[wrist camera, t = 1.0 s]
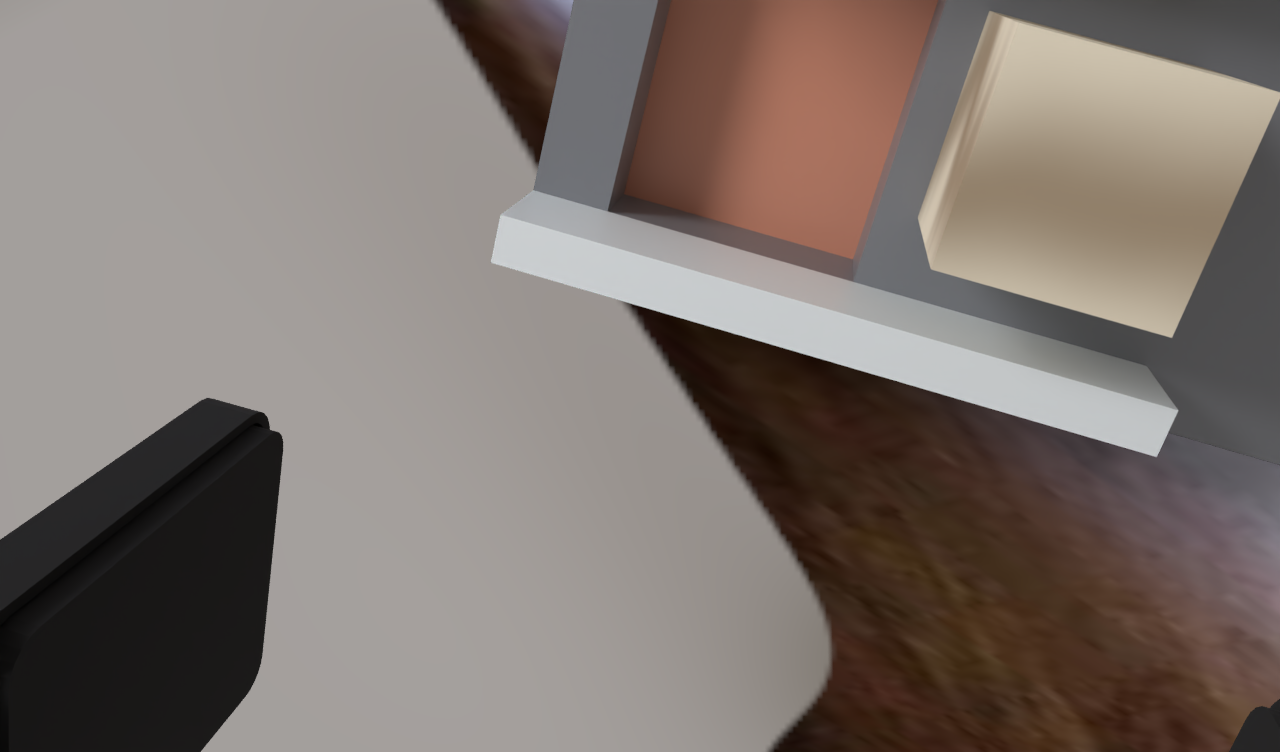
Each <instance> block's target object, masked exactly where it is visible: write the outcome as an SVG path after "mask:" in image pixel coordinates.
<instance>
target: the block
mask: <svg viewBox="0 0 1280 752" xmlns="http://www.w3.org/2000/svg"><path fill="white" fill-rule="evenodd" d="M1279 100H1280V92H1277V91H1274V90H1271V89H1268V88H1265V87H1262V86H1259V85H1256V84H1252V83H1249V82H1246V81H1243V80H1240V79H1237V78H1234V77H1231V76H1228V75H1225V74H1222V73H1218V72H1215V71H1212V70H1209V69H1206V68H1202V67H1199V66H1195V65H1191V64H1187V63H1184V62H1180V61H1176V60H1172V59H1169V58H1165V57H1161V56H1157V55H1154V54H1150V53H1146V52H1142V51H1139V50H1135V49H1131V48H1127V47H1124V46H1120V45H1116V44H1112V43H1109V42H1105V41H1101V40H1097V39H1094V38H1090V37H1086V36H1082V35H1079V34H1075V33H1071V32H1067V31H1064V30H1060V29H1056V28H1052V27H1049V26H1045V25H1041V24H1037V23H1034V22H1030V21H1026V20H1022V19H1019V18H1015V17H1011V16H1007V15H1004V14H1000V13H996V12H992V11H989V13H988V16H987V19H986V22H985V25H984V28H983V30H982V33H981V36H980V39H979V42H978V45H977V48H976V51H975V54H974V56H973V59H972V62H971V65H970V68H969V71H968V74H967V77H966V80H965V82H964V85H963V88H962V91H961V94H960V97H959V100H958V103H957V106H956V108H955V111H954V114H953V117H952V120H951V123H950V126H949V129H948V132H947V134H946V137H945V140H944V143H943V146H942V149H941V152H940V155H939V158H938V160H937V163H936V166H935V169H934V172H933V175H932V178H931V181H930V184H929V186H928V189H927V192H926V195H925V198H924V201H923V204H922V207H921V210H920V212H919V215H918V221H919V225H920V229H921V233H922V237H923V241H924V245H925V249H926V253H927V257H928V261H929V264H930V268H931V270H935V271H938V272H942V273H945V274H949V275H952V276H956V277H959V278H963V279H966V280H970V281H973V282H977V283H980V284H984V285H988V286H991V287H995V288H998V289H1002V290H1005V291H1009V292H1012V293H1016V294H1019V295H1023V296H1026V297H1030V298H1033V299H1037V300H1040V301H1044V302H1047V303H1051V304H1054V305H1058V306H1061V307H1065V308H1068V309H1072V310H1075V311H1079V312H1082V313H1086V314H1090V315H1093V316H1097V317H1100V318H1104V319H1107V320H1111V321H1114V322H1118V323H1121V324H1125V325H1128V326H1132V327H1135V328H1139V329H1142V330H1146V331H1149V332H1153V333H1156V334H1160V335H1163V336H1167V337H1170V338H1172V337H1173V334H1174V332H1175V330H1176V328H1177V326H1178V323H1179V321H1180V319H1181V317H1182V315H1183V312H1184V310H1185V308H1186V306H1187V303H1188V301H1189V299H1190V297H1191V295H1192V292H1193V290H1194V288H1195V286H1196V284H1197V281H1198V279H1199V277H1200V275H1201V272H1202V270H1203V268H1204V266H1205V264H1206V261H1207V259H1208V257H1209V255H1210V253H1211V250H1212V248H1213V246H1214V244H1215V242H1216V239H1217V237H1218V235H1219V233H1220V230H1221V228H1222V226H1223V224H1224V222H1225V219H1226V217H1227V215H1228V213H1229V211H1230V208H1231V206H1232V204H1233V202H1234V199H1235V197H1236V195H1237V193H1238V191H1239V188H1240V186H1241V184H1242V182H1243V180H1244V177H1245V175H1246V173H1247V171H1248V169H1249V166H1250V164H1251V162H1252V160H1253V157H1254V155H1255V153H1256V151H1257V149H1258V146H1259V144H1260V142H1261V140H1262V138H1263V135H1264V133H1265V131H1266V129H1267V126H1268V124H1269V122H1270V120H1271V118H1272V115H1273V113H1274V111H1275V109H1276V107H1277V104H1278V102H1279Z"/></svg>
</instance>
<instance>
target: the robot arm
mask: <svg viewBox="0 0 1280 752" xmlns="http://www.w3.org/2000/svg"><path fill="white" fill-rule="evenodd" d="M282 455H283V439H282V436H281V434H280V433H279V432H275V431H272V430H270V426H269V421H268V418H267V416H266V415H265V414H264V413H262V412H258V411H254V410H251V409H247V408H244V407H240V406H237V405H233V404H230V403H226V402H222V401H219V400H215V399H210V398H206V399H204V400H201V401H200V402H198V403H197V404H195V405H194V406H192V407H191V408H189V409H188V410H187V411H185V412H184V413H183V414H181V415H179V416H178V417H176V418H175V419H174V420H172V421H171V422H169V423H168V424H166V425H165V426H164V427H162V428H161V429H159V430H158V431H156V432H155V433H154V434H152V435H151V436H149V437H148V438H146V439H145V440H143V441H142V442H140V443H139V444H138V445H136V446H135V447H133V448H132V449H130V450H129V451H127V452H126V453H125V454H123V455H122V456H120V457H119V458H117V459H116V460H115V461H113V462H112V463H110V464H109V465H107V466H106V467H104V468H103V469H102V470H100V471H99V472H97V473H96V474H94V475H93V476H91V477H90V478H89V479H87V480H86V481H84V482H83V483H81V484H80V485H79V486H77V487H76V488H74V489H73V490H71V491H70V492H68V493H67V494H66V495H64V496H63V497H61V498H60V499H59V500H57V501H55V502H54V503H53V504H51V505H50V506H48V507H47V508H45V509H44V510H43V511H41V512H40V513H38V514H37V515H35V516H34V517H32V518H31V519H30V520H28V521H27V522H25V523H24V524H22V525H21V526H19V527H18V528H17V529H15V530H14V531H12V532H11V533H9V534H8V535H7V536H5V537H4V538H2V539H1V540H0V752H201V750H202V749H203V748H204V747H205V745H206V744H207V743H208V742H209V741H210V739H211V738H212V737H213V736H214V734H215V733H216V732H217V731H218V729H219V728H220V727H221V726H222V725H223V723H224V722H225V721H226V719H228V717H229V716H230V715H231V714H232V712H233V711H234V710H235V709H236V707H237V706H238V705H239V704H240V703H241V701H242V700H243V699H244V698H245V696H246V695H247V694H248V692H249V690H250V689H251V687H252V685H253V683H254V681H255V679H256V676H257V674H258V671H259V667H260V664H261V659H262V653H263V643H264V633H265V623H266V612H267V603H268V593H269V583H270V574H271V564H272V553H273V544H274V533H275V523H276V514H277V504H278V495H279V485H280V475H281V465H282ZM1229 752H1280V699H1279V700H1278V701H1277V702H1275V703H1274V704H1273V705H1272V706H1271V708H1267V707H1263V706H1261V707H1257V708H1255V709H1254V710H1253V711H1252V712H1250V714H1249V716H1248V717H1247V719H1246V720H1245V722H1244V724H1243V726H1242V728H1241V730H1240V732H1239V734H1238V736H1237V738H1236V740H1235V742H1234V744H1233V745H1232V747H1231V749H1230V751H1229Z"/></svg>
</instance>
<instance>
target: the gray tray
mask: <svg viewBox="0 0 1280 752" xmlns="http://www.w3.org/2000/svg"><path fill="white" fill-rule="evenodd" d="M989 11H992V12H996V13H1000V14H1004V15H1007V16H1011V17H1015V18H1019V19H1022V20H1026V21H1030V22H1034V23H1037V24H1041V25H1045V26H1049V27H1052V28H1056V29H1060V30H1064V31H1067V32H1071V33H1075V34H1079V35H1082V36H1086V37H1090V38H1094V39H1097V40H1101V41H1105V42H1109V43H1112V44H1116V45H1120V46H1124V47H1127V48H1131V49H1135V50H1139V51H1142V52H1146V53H1150V54H1154V55H1157V56H1161V57H1165V58H1169V59H1172V60H1176V61H1180V62H1184V63H1187V64H1191V65H1195V66H1199V67H1202V68H1206V69H1209V70H1212V71H1215V72H1218V73H1222V74H1225V75H1228V76H1231V77H1234V78H1237V79H1240V80H1243V81H1246V82H1249V83H1252V84H1256V85H1259V86H1262V87H1265V88H1268V89H1271V90H1274V91H1277V92H1280V0H574V2H573V7H572V11H571V16H570V21H569V26H568V30H567V35H566V40H565V44H564V49H563V54H562V58H561V63H560V68H559V73H558V77H557V82H556V87H555V91H554V96H553V101H552V106H551V110H550V115H549V120H548V124H547V129H546V134H545V138H544V143H543V148H542V153H541V157H540V162H539V167H538V171H537V176H536V181H535V186H534V190H533V191H532V192H531V193H529V194H528V195H526V196H525V197H524V198H522V199H521V200H520V201H518V202H517V203H516V204H514V205H513V206H512V207H510V208H509V209H508V210H506V211H505V212H504V213H502V214H501V216H500V220H499V226H498V230H497V235H496V240H495V245H494V250H493V255H492V260H491V263H494V264H497V265H501V266H504V267H508V268H511V269H514V270H518V271H522V272H525V273H528V274H532V275H535V276H539V277H542V278H545V279H549V280H552V281H556V282H559V283H562V284H566V285H569V286H573V287H576V288H579V289H583V290H586V291H590V292H593V293H597V294H600V295H603V296H607V297H610V298H614V299H617V300H621V301H624V302H627V303H631V304H634V305H638V306H641V307H644V308H648V309H651V310H655V311H658V312H662V313H665V314H668V315H672V316H675V317H679V318H682V319H686V320H689V321H692V322H696V323H699V324H703V325H706V326H710V327H713V328H716V329H720V330H723V331H727V332H730V333H733V334H737V335H740V336H744V337H747V338H751V339H754V340H757V341H761V342H764V343H768V344H771V345H775V346H778V347H781V348H785V349H788V350H792V351H795V352H799V353H802V354H805V355H809V356H812V357H816V358H819V359H822V360H826V361H829V362H833V363H836V364H840V365H843V366H846V367H850V368H853V369H857V370H860V371H864V372H867V373H870V374H874V375H877V376H881V377H884V378H888V379H891V380H894V381H898V382H901V383H905V384H908V385H911V386H915V387H918V388H922V389H925V390H929V391H932V392H935V393H939V394H942V395H946V396H949V397H953V398H956V399H959V400H963V401H966V402H970V403H973V404H977V405H980V406H983V407H987V408H990V409H994V410H997V411H1000V412H1004V413H1007V414H1011V415H1014V416H1018V417H1021V418H1024V419H1028V420H1031V421H1035V422H1038V423H1042V424H1045V425H1048V426H1052V427H1055V428H1059V429H1062V430H1066V431H1069V432H1072V433H1076V434H1079V435H1083V436H1086V437H1089V438H1093V439H1096V440H1100V441H1103V442H1107V443H1110V444H1113V445H1117V446H1120V447H1124V448H1127V449H1131V450H1134V451H1137V452H1141V453H1144V454H1148V455H1151V456H1155V457H1157V455H1158V453H1159V451H1160V449H1161V447H1162V445H1163V443H1164V440H1165V438H1166V436H1167V434H1168V433H1171V434H1175V435H1178V436H1182V437H1185V438H1189V439H1192V440H1196V441H1199V442H1202V443H1206V444H1209V445H1213V446H1216V447H1220V448H1223V449H1227V450H1230V451H1233V452H1237V453H1240V454H1244V455H1247V456H1251V457H1254V458H1258V459H1261V460H1264V461H1268V462H1271V463H1275V464H1278V465H1280V100H1279V102H1278V104H1277V107H1276V109H1275V111H1274V113H1273V115H1272V118H1271V120H1270V122H1269V124H1268V126H1267V129H1266V131H1265V133H1264V135H1263V138H1262V140H1261V142H1260V144H1259V146H1258V149H1257V151H1256V153H1255V155H1254V157H1253V160H1252V162H1251V164H1250V166H1249V169H1248V171H1247V173H1246V175H1245V177H1244V180H1243V182H1242V184H1241V186H1240V188H1239V191H1238V193H1237V195H1236V197H1235V199H1234V202H1233V204H1232V206H1231V208H1230V211H1229V213H1228V215H1227V217H1226V219H1225V222H1224V224H1223V226H1222V228H1221V230H1220V233H1219V235H1218V237H1217V239H1216V242H1215V244H1214V246H1213V248H1212V250H1211V253H1210V255H1209V257H1208V259H1207V261H1206V264H1205V266H1204V268H1203V270H1202V272H1201V275H1200V277H1199V279H1198V281H1197V284H1196V286H1195V288H1194V290H1193V292H1192V295H1191V297H1190V299H1189V301H1188V303H1187V306H1186V308H1185V310H1184V312H1183V315H1182V317H1181V319H1180V321H1179V323H1178V326H1177V328H1176V330H1175V332H1174V334H1173V337H1172V338H1170V337H1167V336H1163V335H1160V334H1156V333H1153V332H1149V331H1146V330H1142V329H1139V328H1135V327H1132V326H1128V325H1125V324H1121V323H1118V322H1114V321H1111V320H1107V319H1104V318H1100V317H1097V316H1093V315H1090V314H1086V313H1082V312H1079V311H1075V310H1072V309H1068V308H1065V307H1061V306H1058V305H1054V304H1051V303H1047V302H1044V301H1040V300H1037V299H1033V298H1030V297H1026V296H1023V295H1019V294H1016V293H1012V292H1009V291H1005V290H1002V289H998V288H995V287H991V286H988V285H984V284H980V283H977V282H973V281H970V280H966V279H963V278H959V277H956V276H952V275H949V274H945V273H942V272H938V271H935V270H931V268H930V264H929V261H928V257H927V253H926V249H925V245H924V241H923V237H922V233H921V229H920V225H919V221H918V215H919V212H920V210H921V207H922V204H923V201H924V198H925V195H926V192H927V189H928V186H929V184H930V181H931V178H932V175H933V172H934V169H935V166H936V163H937V160H938V158H939V155H940V152H941V149H942V146H943V143H944V140H945V137H946V134H947V132H948V129H949V126H950V123H951V120H952V117H953V114H954V111H955V108H956V106H957V103H958V100H959V97H960V94H961V91H962V88H963V85H964V82H965V80H966V77H967V74H968V71H969V68H970V65H971V62H972V59H973V56H974V54H975V51H976V48H977V45H978V42H979V39H980V36H981V33H982V30H983V28H984V25H985V22H986V19H987V16H988V13H989Z"/></svg>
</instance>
